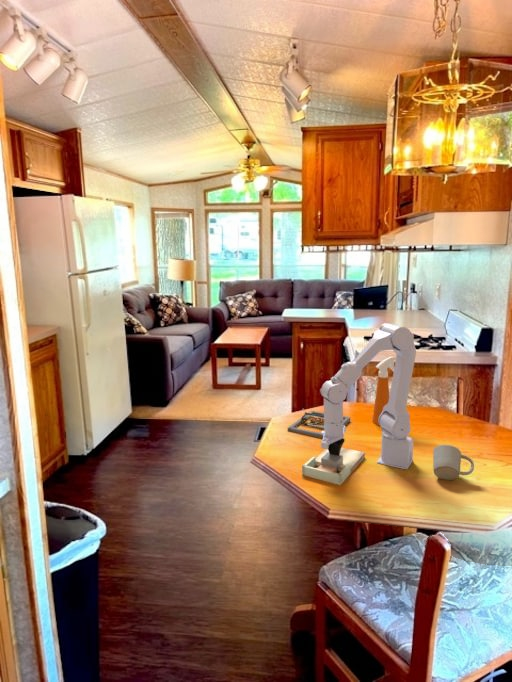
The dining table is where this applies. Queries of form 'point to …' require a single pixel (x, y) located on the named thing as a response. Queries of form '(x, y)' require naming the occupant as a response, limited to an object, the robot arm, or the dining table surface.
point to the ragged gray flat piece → (313, 419)
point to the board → (345, 458)
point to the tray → (324, 472)
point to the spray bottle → (382, 387)
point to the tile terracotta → (327, 468)
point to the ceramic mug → (449, 462)
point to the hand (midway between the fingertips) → (334, 461)
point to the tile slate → (332, 460)
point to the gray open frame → (317, 434)
